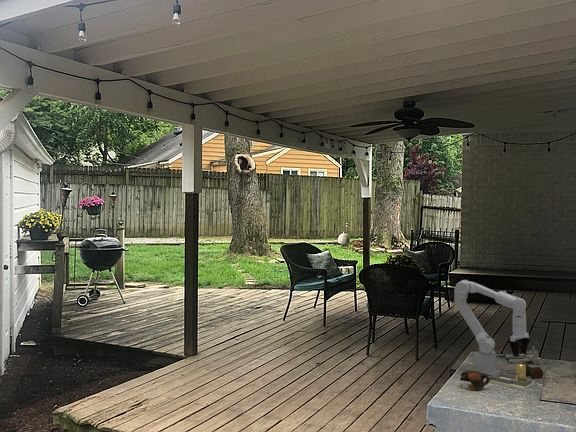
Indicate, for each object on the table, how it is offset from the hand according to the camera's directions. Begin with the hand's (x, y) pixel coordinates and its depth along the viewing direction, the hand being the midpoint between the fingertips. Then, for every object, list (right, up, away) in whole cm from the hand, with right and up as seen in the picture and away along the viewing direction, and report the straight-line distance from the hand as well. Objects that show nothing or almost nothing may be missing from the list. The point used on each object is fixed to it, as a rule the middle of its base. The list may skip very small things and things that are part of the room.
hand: (519, 355), depth 244 cm
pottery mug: (-27, -10, -18) cm, 33 cm away
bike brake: (+11, -10, +27) cm, 31 cm away
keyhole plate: (-9, -9, -12) cm, 17 cm away
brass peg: (-6, -8, -15) cm, 18 cm away
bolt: (+5, -10, +3) cm, 11 cm away
